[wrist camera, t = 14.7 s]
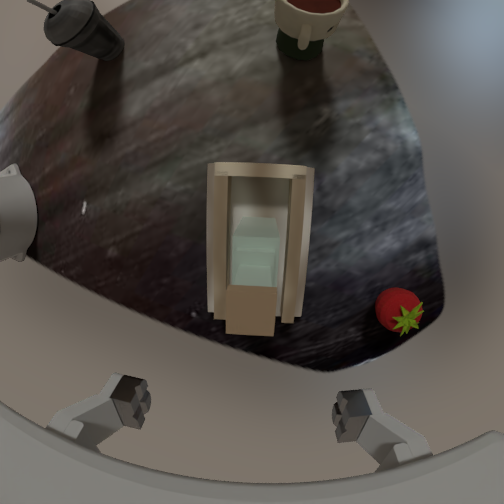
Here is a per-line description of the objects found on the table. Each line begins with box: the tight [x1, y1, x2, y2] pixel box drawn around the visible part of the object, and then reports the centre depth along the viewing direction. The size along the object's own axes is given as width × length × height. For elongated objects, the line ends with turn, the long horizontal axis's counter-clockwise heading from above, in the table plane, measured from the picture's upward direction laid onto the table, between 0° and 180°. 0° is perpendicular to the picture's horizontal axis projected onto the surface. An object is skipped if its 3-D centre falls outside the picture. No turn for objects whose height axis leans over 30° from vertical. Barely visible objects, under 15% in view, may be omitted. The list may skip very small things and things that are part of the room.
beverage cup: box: [27, 0, 124, 61], centre depth 19 cm, size 7×7×20 cm
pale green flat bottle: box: [226, 217, 280, 336], centre depth 26 cm, size 7×4×18 cm, turn 178°
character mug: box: [275, 0, 349, 60], centre depth 22 cm, size 11×7×13 cm, turn 171°
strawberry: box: [375, 288, 424, 336], centre depth 33 cm, size 6×8×10 cm
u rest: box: [207, 162, 314, 323], centre depth 34 cm, size 13×20×5 cm, turn 178°
